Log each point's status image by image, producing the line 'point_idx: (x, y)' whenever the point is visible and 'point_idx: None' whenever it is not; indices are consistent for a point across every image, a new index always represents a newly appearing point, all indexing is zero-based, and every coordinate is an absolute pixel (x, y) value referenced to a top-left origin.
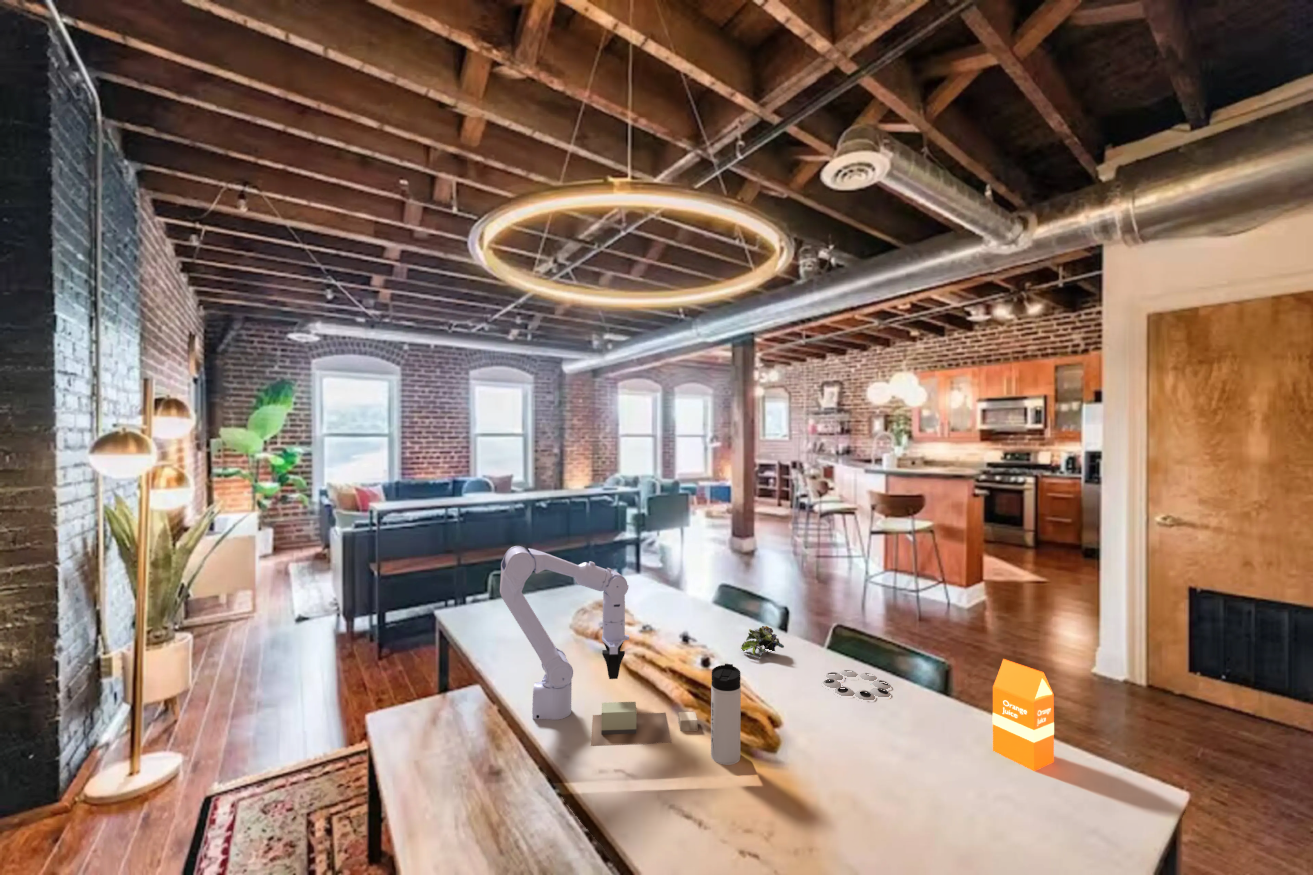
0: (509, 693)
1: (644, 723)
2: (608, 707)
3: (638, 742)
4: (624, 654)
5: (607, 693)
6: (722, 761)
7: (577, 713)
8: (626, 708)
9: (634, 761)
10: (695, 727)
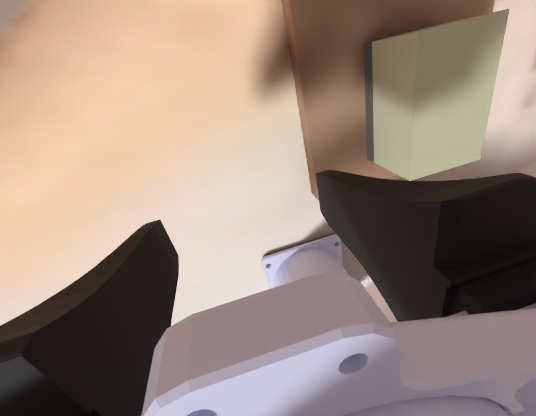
0: None
1: (368, 1)
2: (447, 146)
3: (484, 7)
4: (523, 174)
5: (122, 207)
6: None
7: (275, 241)
8: (471, 67)
9: (519, 14)
10: None
